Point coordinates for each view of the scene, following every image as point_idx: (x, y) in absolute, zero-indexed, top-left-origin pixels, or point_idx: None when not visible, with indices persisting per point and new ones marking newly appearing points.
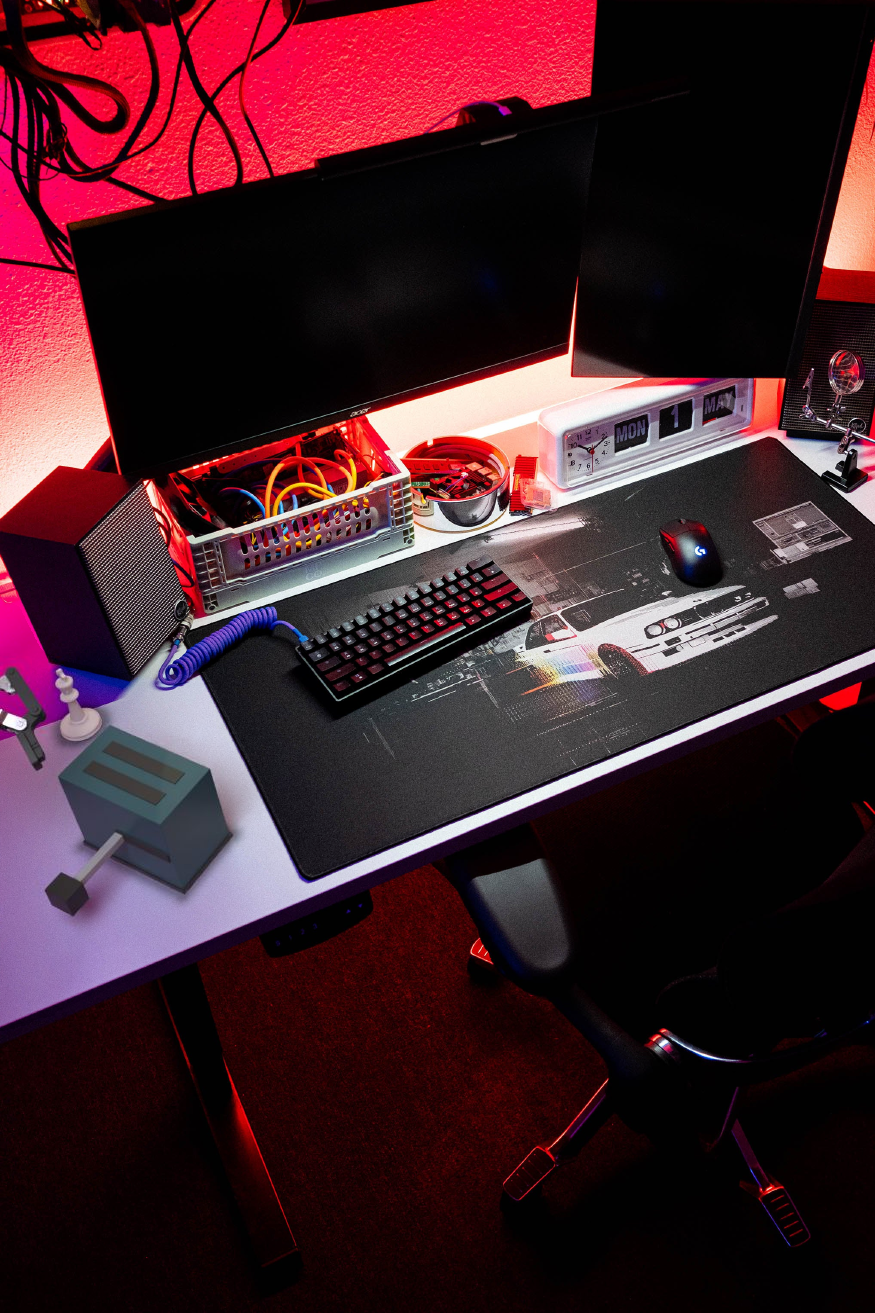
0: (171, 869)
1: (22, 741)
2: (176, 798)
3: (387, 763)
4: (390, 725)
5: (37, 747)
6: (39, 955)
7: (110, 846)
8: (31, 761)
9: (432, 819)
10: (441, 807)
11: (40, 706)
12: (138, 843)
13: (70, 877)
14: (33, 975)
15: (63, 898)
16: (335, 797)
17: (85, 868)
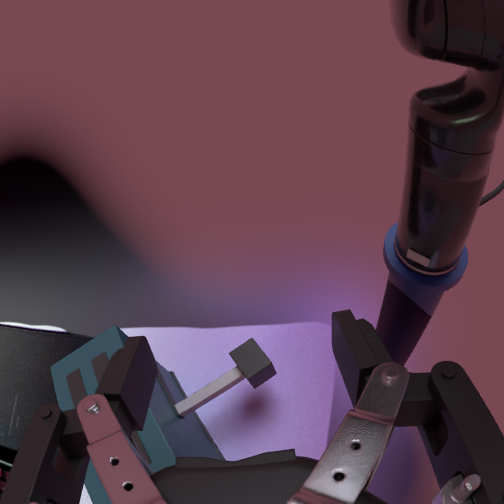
0: (160, 367)
1: (119, 374)
2: (87, 349)
3: (21, 392)
4: (6, 418)
5: (112, 363)
6: (310, 370)
7: (190, 397)
8: (138, 339)
9: (33, 336)
10: (26, 341)
11: (35, 413)
12: (164, 385)
13: (239, 365)
14: (318, 352)
15: (253, 342)
16: (52, 389)
17: (224, 382)
